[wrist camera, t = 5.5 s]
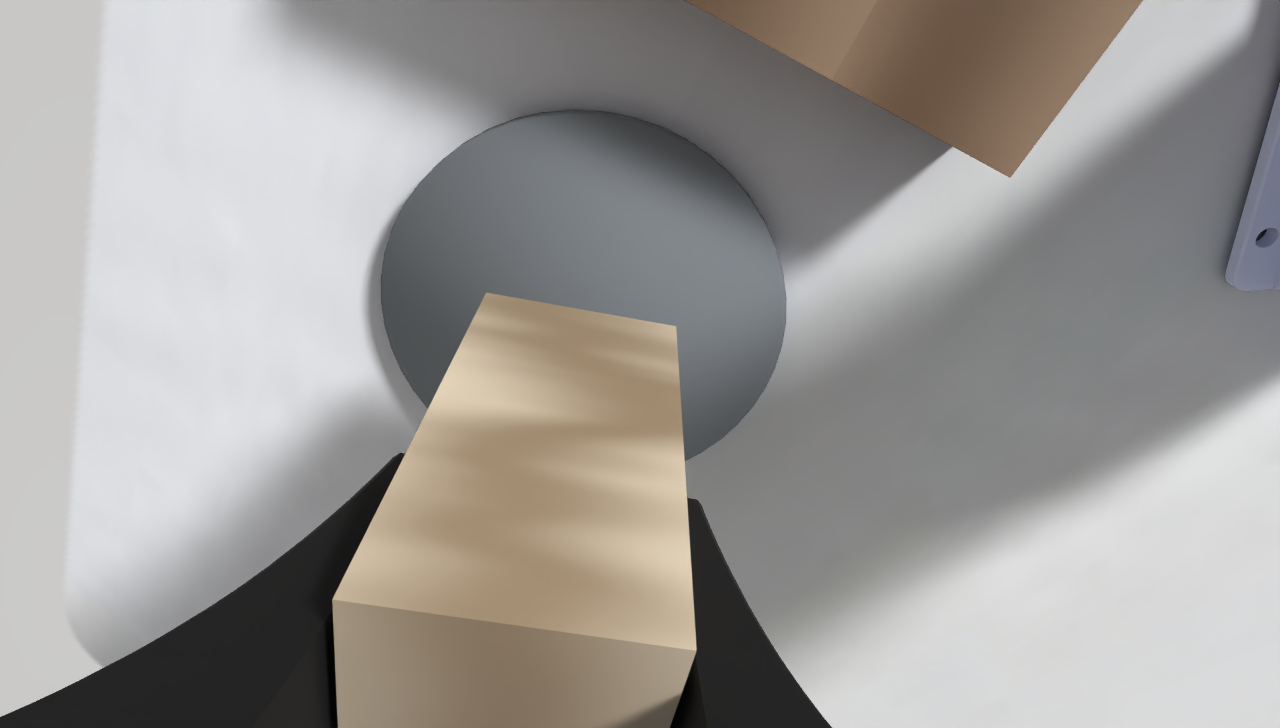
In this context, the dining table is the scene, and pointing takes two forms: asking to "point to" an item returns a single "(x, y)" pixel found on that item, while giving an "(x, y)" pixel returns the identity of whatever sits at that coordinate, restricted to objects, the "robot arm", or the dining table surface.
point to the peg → (529, 538)
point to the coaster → (592, 253)
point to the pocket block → (945, 59)
